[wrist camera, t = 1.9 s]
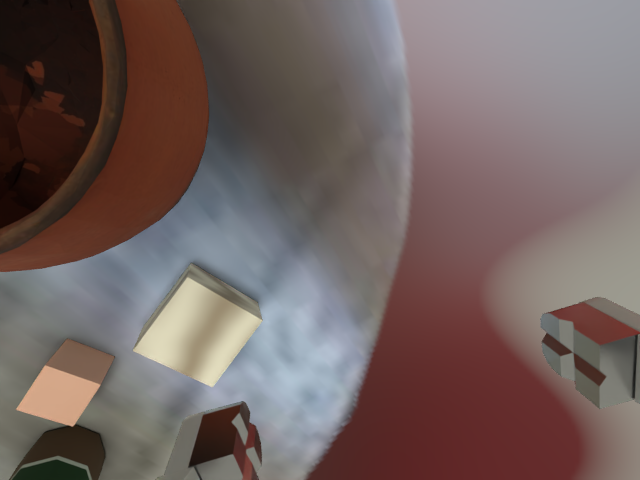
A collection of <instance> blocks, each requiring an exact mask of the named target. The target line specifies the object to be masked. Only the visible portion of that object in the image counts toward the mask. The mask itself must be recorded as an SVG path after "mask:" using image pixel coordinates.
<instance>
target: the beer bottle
mask: <svg viewBox="0 0 640 480" xmlns="http://www.w3.org/2000/svg"><path fill="white" fill-rule="evenodd" d="M104 459H105V454H104V450H103V447H102V443H101V439H100V436H99V434H97V433H95V432H92V431H89V430H87V429H84V428H82V427H79V426H77V425H74V426H73V427H72V426H69V427H65V428H61V429H56V430H52V431H48V432H45V433H44V434H43V435H42V436H41V437H40V438H39V440H38V441H37V442H36V443H35V445H34V446H33V447H32V448H31V449H30V451H29V452H28V453H27V454H26V456H25V457H24V459H23V460H22V461H21V463H20V464H19V465H18V467H17V468H16V470H15V471H14V473H13V474H12V476H11V478H10V479H9V480H98V478H99V475H100V472H101V470H102V466H103V463H104Z"/></svg>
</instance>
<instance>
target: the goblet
mask: <svg viewBox="0 0 640 480" xmlns="http://www.w3.org/2000/svg"><path fill="white" fill-rule="evenodd" d="M208 121H209V105H208V90H207V82H206V77H205V72H204V67H203V62H202V59H201V55H200V52H199V49H198V46H197V44H196V41H195V39H194V36H193V33H192V31H191V29H190V26H189V24H188V22H187V21H186V19H185V17H184V15H183V13H182V11H181V9H180V7H179V5H178V3H177V2H176V0H0V272H10V271H22V270H32V269H42V268H47V267H51V266H56V265H61V264H65V263H70V262H75V261H78V260H82V259H85V258H88V257H91V256H94V255H96V254H99V253H101V252H104V251H106V250H108V249H110V248H112V247H114V246H116V245H118V244H121V243H123V242H125V241H127V240H129V239H130V238H132V237H134V236H135V235H137V234H138V233H140V232H142V231H143V230H145V229H146V228H148V227H150V226H151V225H153V224H154V223H156V222H157V221H159V220H160V219H161V218H163V217H164V216H165V215H166V214H167V213H168V212H169V211H170V210H171V209H172V208H173V207H174V206H175V205H176V204H177V203H178V202H179V200H180V199H181V198H182V196H183V195H184V193H185V192H186V191H187V189H188V187H189V185H190V183H191V181H192V179H193V177H194V175H195V173H196V171H197V169H198V166H199V163H200V161H201V158H202V155H203V152H204V148H205V143H206V138H207V132H208Z"/></svg>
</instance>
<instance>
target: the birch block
mask: <svg viewBox="0 0 640 480" xmlns="http://www.w3.org/2000/svg"><path fill="white" fill-rule="evenodd" d="M262 321H263V320H262V316H261V313H260V309H259V305H258V302H256V301H254V300H253V299H251V298H249V297H248V296H246V295H244V294H243V293H241V292H239V291H238V290H236V289H234V288H233V287H231V286H229V285H228V284H226V283H224V282H223V281H221V280H219V279H218V278H216V277H214V276H213V275H211V274H209V273H208V272H206V271H204V270H202V269H201V268H199V267H197V266H196V265H194V264H192V263H190V265H189V266H188V267H187V269H186V270H185V271H184V273H183V274H182V275H181V277H180V278H179V280H178V281H177V282H176V284H175V285H174V286H173V288H172V289H171V290H170V292H169V293H168V294H167V296H166V297H165V298H164V300H163V301H162V302H161V304H160V305H159V306H158V308H157V309H156V310H155V312H154V313H153V314H152V316H151V317H150V319H149V320H148V321H147V323H146V324H145V325H144V327H143V328H142V330H141V333H140V335H139V337H138V340H137V342H136V344H135V347H134V349H133V351H134V352H137V353H139V354H141V355H143V356H145V357H147V358H150V359H152V360H154V361H156V362H158V363H161V364H163V365H165V366H167V367H169V368H171V369H174V370H176V371H178V372H180V373H182V374H185V375H187V376H189V377H191V378H193V379H195V380H198V381H200V382H202V383H204V384H206V385H209V386H211V387H213V386H214V385H215V383H216V382H217V381H218V379H219V378H220V377H221V375H222V374H223V373H224V371H225V370H226V369H227V367H228V366H229V365H230V363H231V362H232V361H233V359H234V358H235V357H236V355H237V354H238V353H239V351H240V350H241V349H242V347H243V346H244V345H245V343H246V342H247V341H248V339H249V338H250V337H251V335H252V334H253V333H254V331H255V330H256V329H257V327H258V326H259V325H260V323H261V322H262Z"/></svg>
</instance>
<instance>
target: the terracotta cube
mask: <svg viewBox="0 0 640 480" xmlns="http://www.w3.org/2000/svg"><path fill="white" fill-rule="evenodd" d="M114 358H115V357H114V356H112V355H109V354H107V353H104V352H101V351H99V350H96V349H94V348H91V347H88V346H86V345H83V344H81V343H78V342H75V341H73V340H70V339H68V338H67V339H66V340H65V342H64V343H63V344H62V345H61V347H60V348H59V349H58V350H57V351H56V353H55V354H54V355H53V356H52V357H51V359H50V360H49V361H48V362H47V364H46V365H45V366H44V368H43V369H42V371H41V372H40V374H39V375H38V377H37V378H36V380H35V381H34V383H33V385H32V386H31V388H30V389H29V391H28V392H27V394H26V395H25V397H24V398H23V400H22V401H21V403H20V405H19V406H18V408H17V409H16V410H19V411H22V412H25V413H29V414H32V415H35V416H39V417H42V418H45V419H49V420H52V421H55V422H59V423H62V424H66V425H69V426H72V427H73V426H74V424H75V423H76V421H77V420H78V418H79V417H80V415H81V414H82V412H83V411H84V409H85V408H86V406H87V405H88V403H89V402H90V400H91V399H92V397H93V396H94V394H95V393H96V391H97V390H98V388H99V387H100V385H101V383H102V381H103V379H104V377H105V375H106V373H107V371H108V369H109V367H110V366H111V364H112V362H113V360H114Z"/></svg>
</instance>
